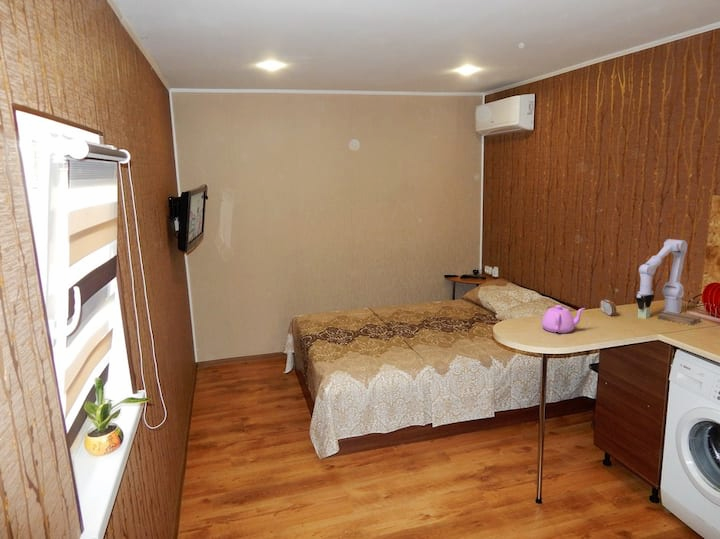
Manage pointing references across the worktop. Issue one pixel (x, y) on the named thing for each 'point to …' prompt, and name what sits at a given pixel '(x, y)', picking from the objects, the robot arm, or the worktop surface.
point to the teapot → (560, 319)
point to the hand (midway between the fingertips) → (644, 308)
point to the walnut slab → (679, 318)
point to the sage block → (644, 313)
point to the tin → (608, 307)
